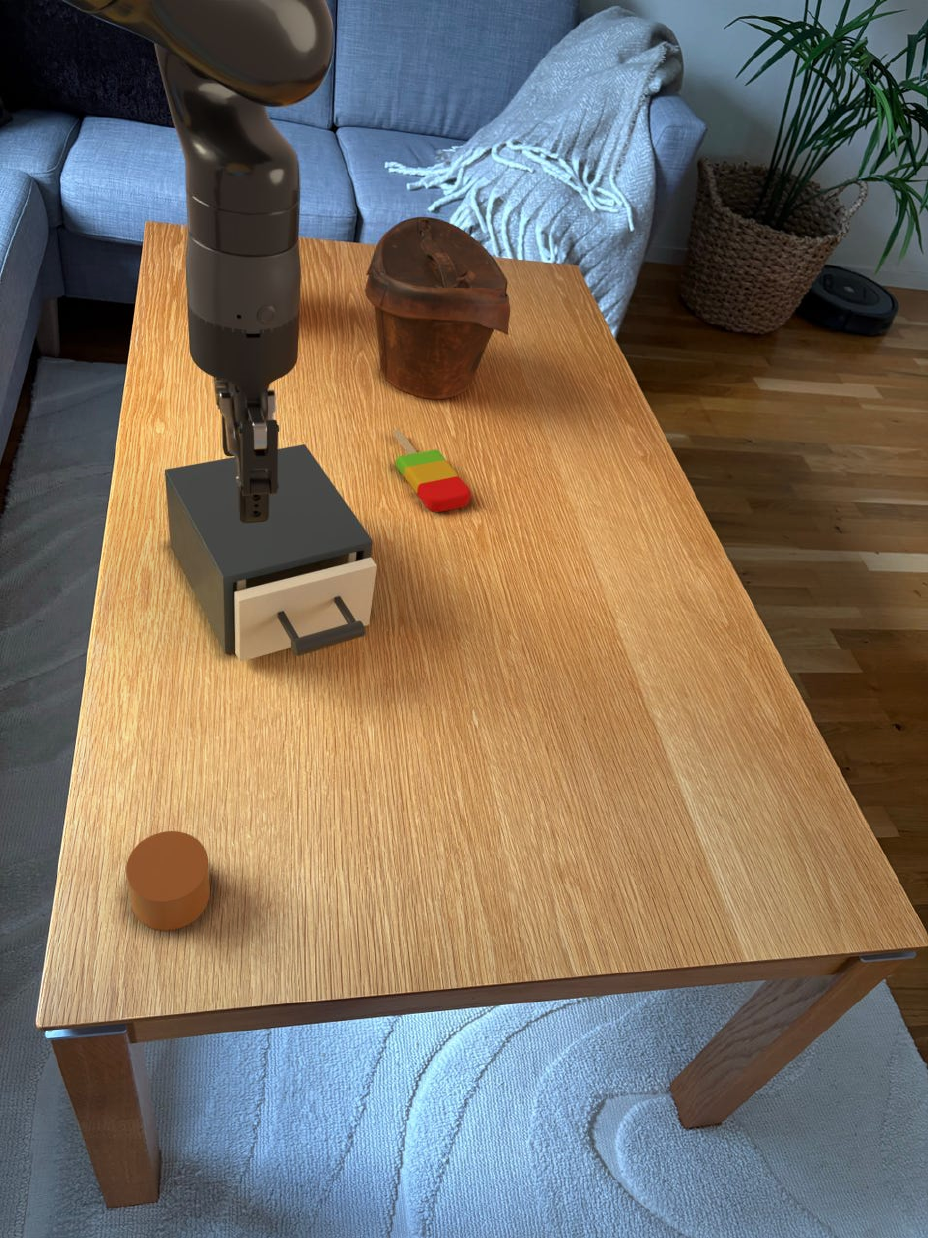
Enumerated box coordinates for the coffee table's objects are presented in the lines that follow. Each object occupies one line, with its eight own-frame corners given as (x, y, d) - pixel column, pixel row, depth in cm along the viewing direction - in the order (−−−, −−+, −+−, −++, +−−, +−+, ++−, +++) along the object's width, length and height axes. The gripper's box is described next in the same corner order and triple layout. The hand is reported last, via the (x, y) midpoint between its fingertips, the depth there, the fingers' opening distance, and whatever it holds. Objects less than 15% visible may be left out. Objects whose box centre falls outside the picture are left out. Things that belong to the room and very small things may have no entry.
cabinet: (364, 614, 92) (373, 541, 85) (225, 654, 86) (223, 577, 79) (300, 517, 101) (304, 443, 94) (170, 546, 94) (164, 469, 87)
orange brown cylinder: (144, 943, 66) (139, 914, 63) (121, 878, 69) (115, 848, 66) (220, 912, 68) (219, 882, 65) (195, 850, 72) (192, 820, 68)
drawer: (392, 660, 87) (402, 601, 82) (260, 701, 81) (261, 641, 76) (308, 531, 98) (312, 471, 92) (186, 559, 92) (182, 497, 86)
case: (454, 433, 117) (479, 301, 104) (328, 369, 122) (337, 236, 110) (521, 380, 129) (551, 255, 116) (403, 324, 134) (419, 199, 122)
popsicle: (431, 515, 105) (433, 502, 103) (374, 440, 113) (376, 427, 112) (472, 506, 107) (475, 493, 106) (414, 433, 116) (416, 420, 114)
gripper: (175, 248, 66) (186, 436, 78) (201, 353, 57) (209, 548, 69) (280, 249, 69) (275, 431, 80) (320, 351, 60) (309, 540, 71)
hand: (244, 485), depth 74 cm, fingers open, 8 cm apart
